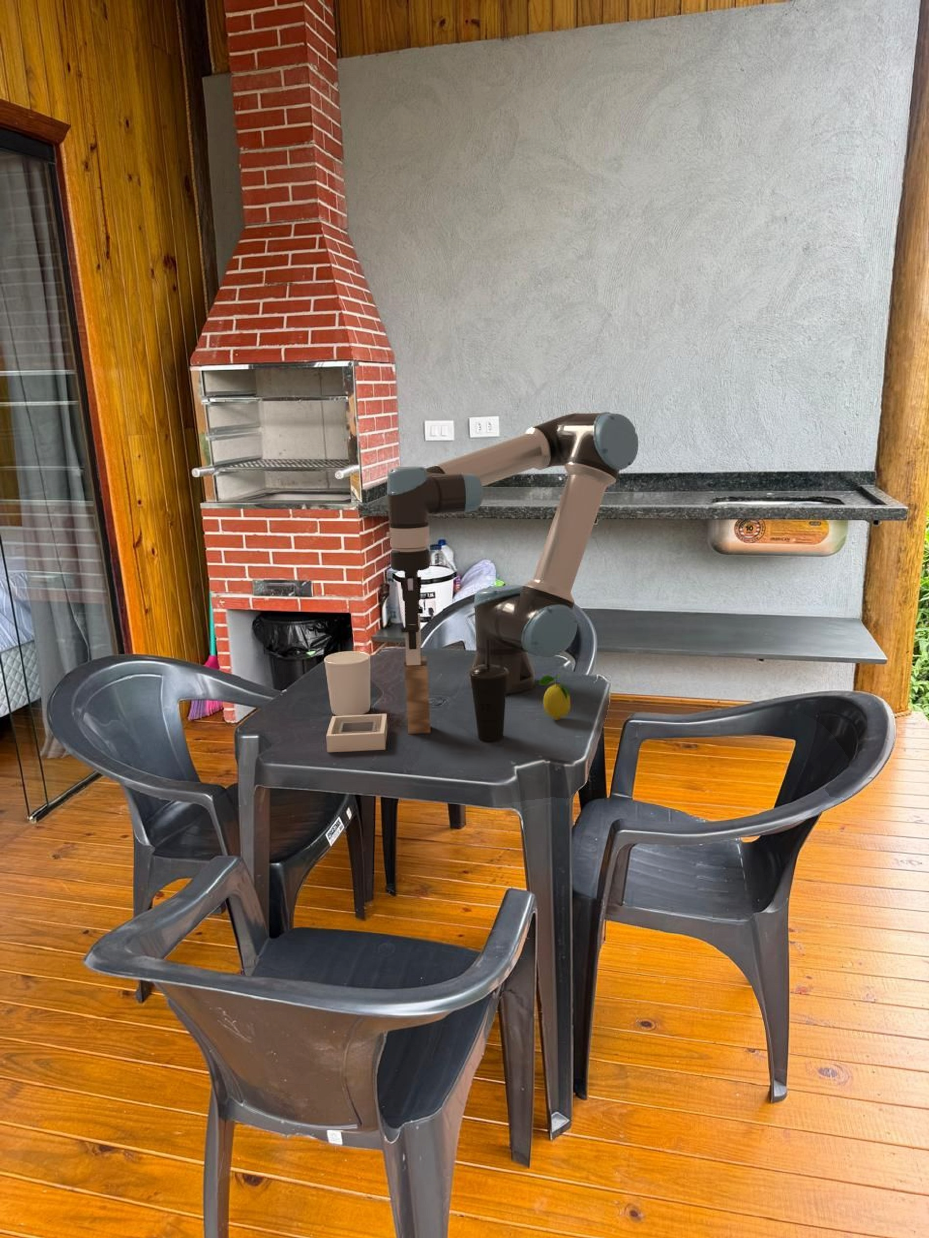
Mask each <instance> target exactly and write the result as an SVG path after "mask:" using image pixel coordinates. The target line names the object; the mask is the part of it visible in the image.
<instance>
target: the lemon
mask: <svg viewBox="0 0 929 1238" xmlns="http://www.w3.org/2000/svg"><path fill="white" fill-rule="evenodd" d="M554 682H555V684H553V685H551V686H549V687H548V688H547V690H546V691H545V693H544V695H543V699H542V704H543V710H544V711H545V713H546V714H547V715H548V716H549V717H552V718H553V719H554V720H555V721H559V720H560V719H561V718H563V717H565V716H567V714H568V713H569V712H570V710H571V700H572V697H571V694H570V692H569V691H568V689H567V688H566V687H565V685H564V684H562V683H560V682H558V673H556V674H555V677H552V676H551V675H544V676H542V677H541V678H540V680H539V683H538V685H540V686H545V685H549V684H552V683H554Z"/></svg>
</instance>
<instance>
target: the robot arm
mask: <svg viewBox="0 0 929 1238" xmlns="http://www.w3.org/2000/svg"><path fill="white" fill-rule="evenodd" d="M638 450H639V437H638V434H637V432H636V427H635V425H634V424H633V422H632V421H631V420H630V419H629V417H627V416H625V415H623V414H620V413H616V412H615V413H613V412H609V411H608V412H607V411H603V412H597V413H594V412H593V413H592V412H589V413H586V412H585V413H580V412H577V413H569V414H566V415H562V416H559V417H556V418H554V419H550V420H549V421H545V422H542V423H540V424H538V425H535V426H532V427H529V428H527V429H526V430H525V431H524V433H523V434H522V435H520V436H516V437H513V438H511V439H507V440H505V441H503V442H500V443H496V444H494V445H491V446H488V447H484V448H482V449H479V450H475V451H473V452H470V453H468V454H465V455H461V456H459V457H458V456H457V457H456V458H453V459H450V460H446V461H444V462H441V463H438V464H435V465H433V466H430V467H426V468H425V467H424V466H398V467H392V468H390V469H389V470H388V472H387V479H386V481H387V482H386V483H387V484H386V487H387V488H386V494H387V507H388V508H387V509H388V523H389V524H388V527H389V531H387V532H386V537H388V538H390V539H389V542H390V543H389V545H390V547H391V548H392V549H391V550H390V567H391V569H392V570H393V571H397V572H403V573H404V576H403V577H400V589H401V593H402V594H401V595H402V597H401V598H402V601H403V602H404V627H402V628H400V629H401V630H400V631H401V634H403V633H404V638H405V643H404V644H405V657H406V665H421V659H420V656H421V647H422V635H421V634H422V632H421V631H422V629H421V614H424V608H421V604H420V601H421V592H422V591H421V589H422V576H418V574H419V571H426V570H428V569H429V568H430V566H431V560H430V558H431V557H430V555H431V554H430V550H429V548H428V547H430V524H429V516H436V515H448V514H460V513H462V514H465V513H467V512H468V513H469V512H472V511H473V512H474V511H476V510H478V509H479V508H480V507H481V505H482V503H483V501H484V488H483V487H486V486H488V485H490V484H493V483H495V482H498V481H501V480H504V479H507V478H510V477H512V476H515V475H518V474H521V473H523V472H526V471H529V470H532V469H535V470H538V471H543V470H545V469H547V468H551V467H553V468H554V467H564V469H565V471H566V473H567V479H566V482H565V485H564V487H563V490H562V493H561V496H560V499H559V503H558V506H557V508H556V511H555V514H554V517H553V519H552V522H551V525H550V529H549V532H548V534H547V537H546V540H545V542H544V547H543V549H542V551H541V552H542V553H541V555H540V558H539V561H538V564H537V566H536V569H535V573H534V575H533V578H532V580H530V581H528V582H527V583H524V584H522V585H520V584H510V585H507V584H506V585H499V586H498V585H497V586H490V587H485V588H484V587H483V588H481V589H479V590H477V591H476V592H475V595H474V601H473V602H474V603H473V608H474V623H475V624H474V626H475V629H474V630H475V656H474V658H473V659H474V660H473V662H472V667H471V669H472V668H474V667H477V666H479V665H482V664H487V663H486V639H489V646H490V664H496V665H499V666H502V667H505V668H507V669H508V675H507V683H506V695H508V694H509V695H510V694H516V693H522V692H525V691H527V690H530V689H532V688H534V687H535V684H536V680H535V679H536V678H535V677H536V675H535V672H534V669H533V666H532V663H531V660H530V657H529V654H530V655H533V656H534V657H535V656H536V657H537V656H538V657H544V658H551V657H555V656H556V657H557V656H558V655H559V654H561V653H563V652H565V651H566V650H567V649H568V648H569V647H570V646H571V644H572V643H573V640H575V637H576V635H577V629H578V622H577V621H576V619H577V618H576V617H577V616H576V615H575V613H574V611H573V609H574V606H575V600H574V597H573V595H572V593H571V592H572V589H573V587H574V586H573V585H574V583H575V580H576V577H577V574H578V572H579V569H580V566H581V563H582V560H583V556H584V554H585V551H586V548H587V546H588V542H589V540H590V536H591V534H592V530H593V528H594V525H595V523H596V519H597V515H598V513H599V510H600V507H601V504H602V501H603V498H604V496H605V495H604V494H606V489H607V488H609V487H610V486H612V485H614V484H616V482H617V478H618V477H619V474H620V471H622V470H624V469H627V468H628V467H629V466H631V465H632V464H633V463H634V461H635V460H636V458H637V455H638V452H639V451H638ZM469 687H470V688H471V689H472V684H471V677H470V676H469Z"/></svg>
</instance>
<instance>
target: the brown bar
mask: <svg viewBox="0 0 929 1238" xmlns="http://www.w3.org/2000/svg"><path fill="white" fill-rule="evenodd" d="M420 659H421V665H406V656H405V657H404V661H403V663H404V678H405V679H404V680H405V698H406V700H405V701H406V713H407V715H406V716H407V731H408V733H407V734H410V735H411V734H413V735H414V734H431V713H430V693H429V675H428V674H429V671H428V656H427V655H420Z"/></svg>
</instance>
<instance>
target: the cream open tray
mask: <svg viewBox="0 0 929 1238" xmlns="http://www.w3.org/2000/svg"><path fill="white" fill-rule="evenodd" d="M388 728H389V727H388V716H387V713H371V714H369V713H368V714H362V715H348V716H337V715H335V716H334V715H333V716H331V719H330V722H329V726H328V729H327V733H326V734H325V735H326V736H325V737H326V740H325V741H326V751H327V753H337V752H338V753H342V752H360V751H382V750H386V746H387V745H386V744H387V736H388Z"/></svg>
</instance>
